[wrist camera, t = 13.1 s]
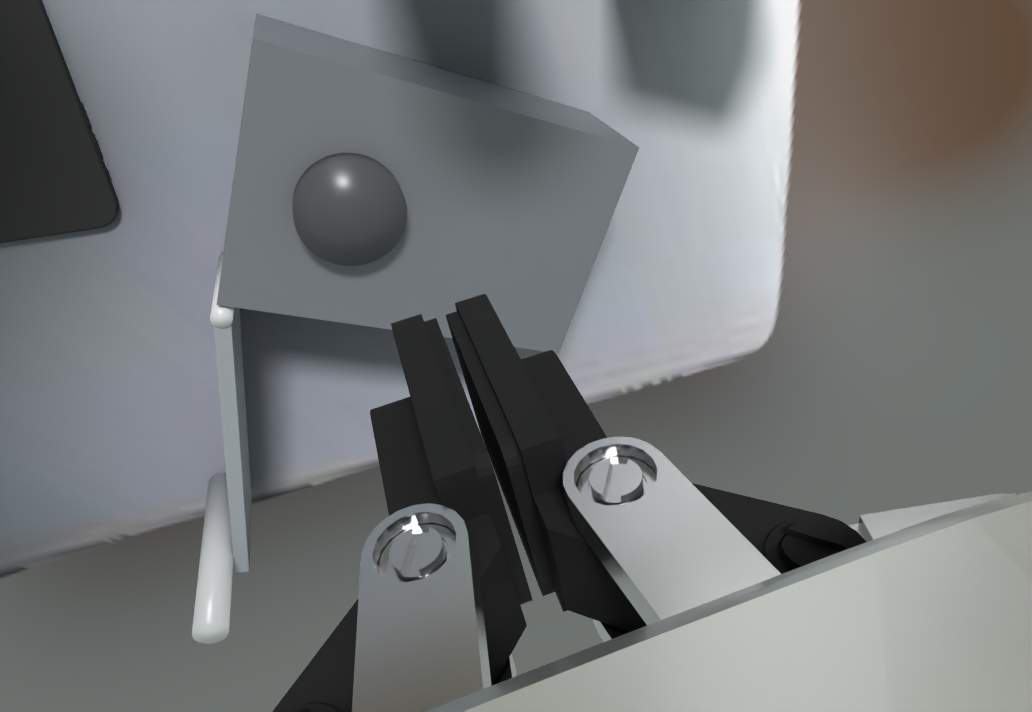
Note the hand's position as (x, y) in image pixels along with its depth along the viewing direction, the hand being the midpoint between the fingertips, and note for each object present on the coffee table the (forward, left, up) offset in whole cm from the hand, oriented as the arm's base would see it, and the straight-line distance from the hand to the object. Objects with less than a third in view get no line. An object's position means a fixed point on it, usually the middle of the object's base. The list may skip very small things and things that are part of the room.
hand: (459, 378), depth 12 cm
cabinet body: (+5, -5, -29) cm, 30 cm away
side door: (-3, -20, -29) cm, 35 cm away
